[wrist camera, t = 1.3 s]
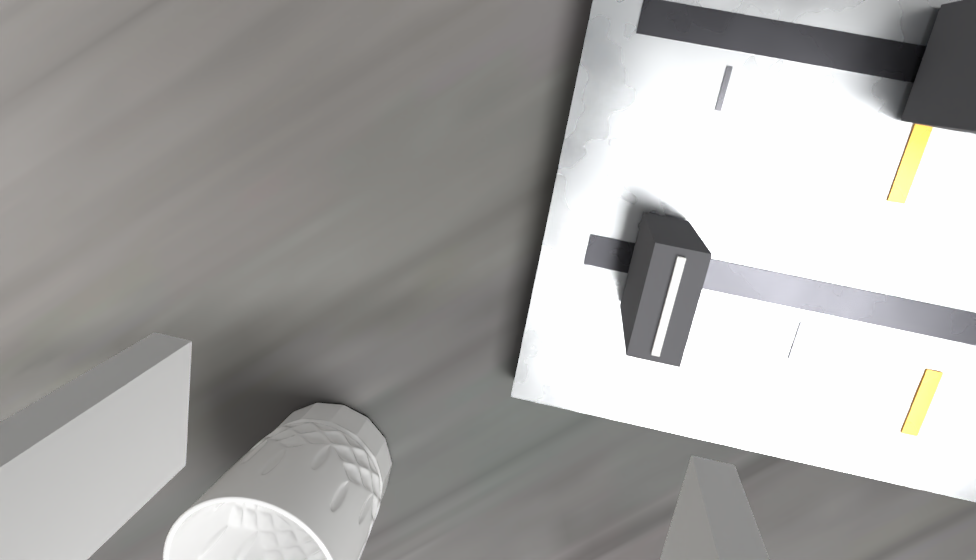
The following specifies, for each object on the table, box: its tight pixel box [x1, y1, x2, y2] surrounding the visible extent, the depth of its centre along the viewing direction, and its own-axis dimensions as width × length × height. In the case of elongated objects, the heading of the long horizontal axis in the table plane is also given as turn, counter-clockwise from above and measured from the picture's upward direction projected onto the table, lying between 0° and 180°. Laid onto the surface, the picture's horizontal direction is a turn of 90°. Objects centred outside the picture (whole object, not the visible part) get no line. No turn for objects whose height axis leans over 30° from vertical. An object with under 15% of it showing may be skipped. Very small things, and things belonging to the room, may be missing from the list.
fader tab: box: [620, 212, 712, 367], centre depth 28 cm, size 4×2×6 cm, turn 170°
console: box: [511, 0, 976, 502], centre depth 30 cm, size 22×24×2 cm
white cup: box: [163, 403, 392, 560], centre depth 34 cm, size 8×8×10 cm
